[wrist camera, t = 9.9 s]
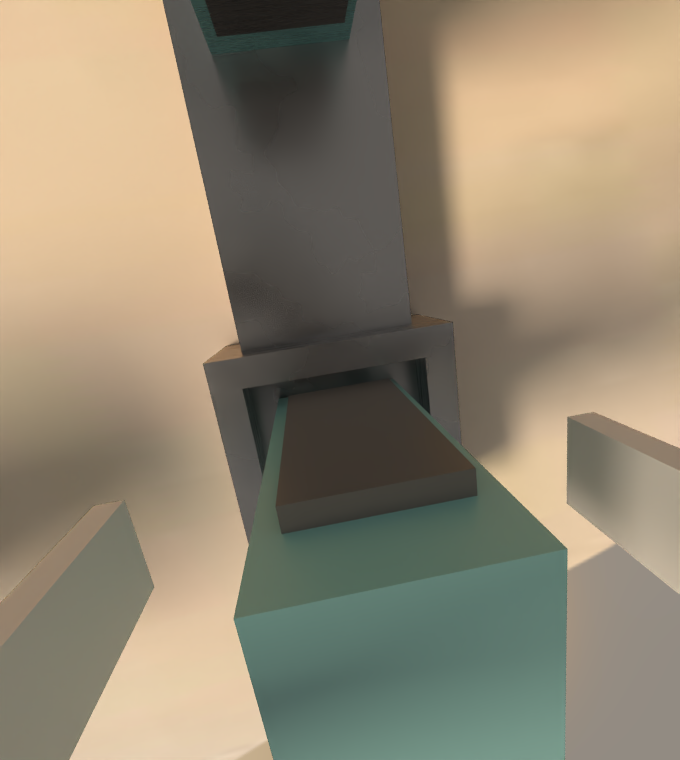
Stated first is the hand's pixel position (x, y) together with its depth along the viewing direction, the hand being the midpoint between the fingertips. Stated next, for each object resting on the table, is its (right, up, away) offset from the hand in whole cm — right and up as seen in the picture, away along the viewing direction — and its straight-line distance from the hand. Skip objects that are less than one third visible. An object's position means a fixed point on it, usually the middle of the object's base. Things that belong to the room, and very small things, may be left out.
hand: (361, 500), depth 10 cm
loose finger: (0, +1, +4) cm, 4 cm away
